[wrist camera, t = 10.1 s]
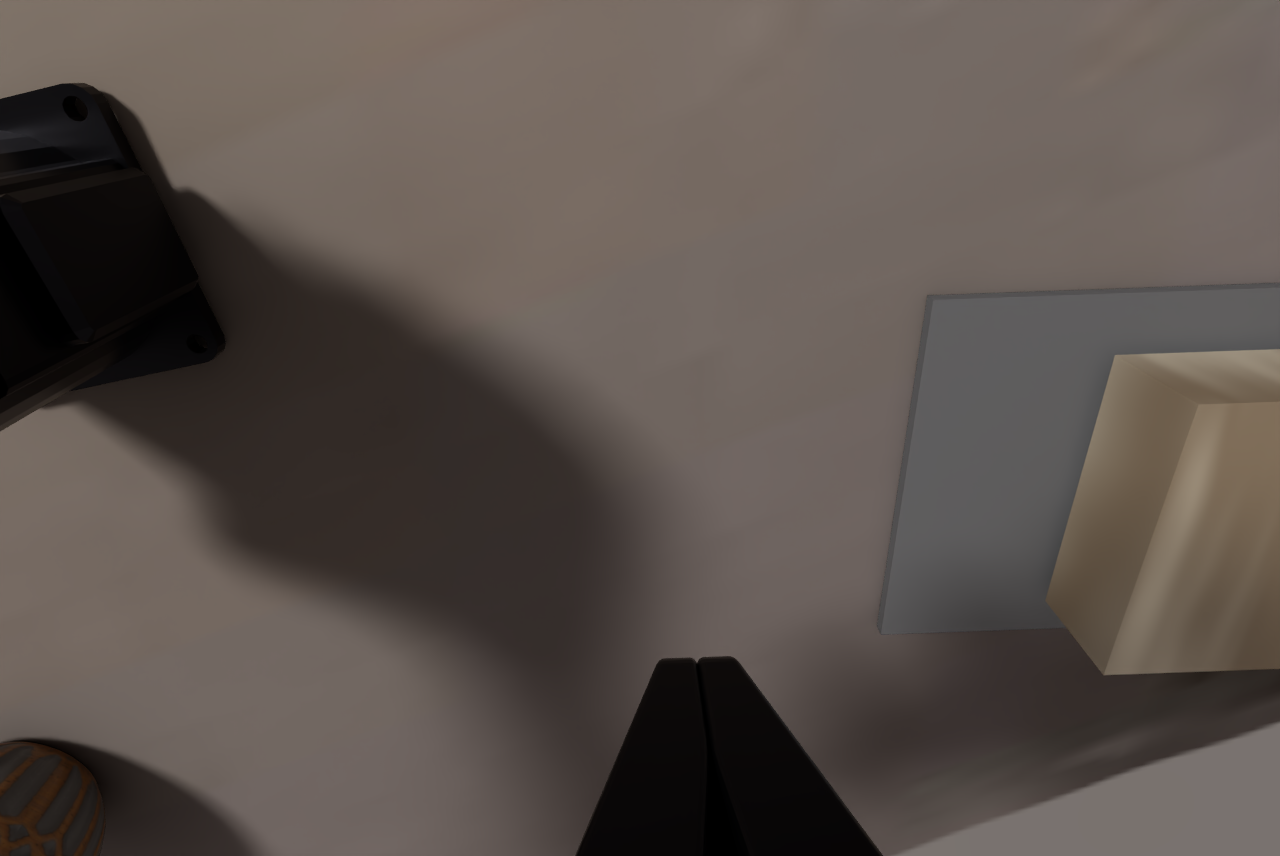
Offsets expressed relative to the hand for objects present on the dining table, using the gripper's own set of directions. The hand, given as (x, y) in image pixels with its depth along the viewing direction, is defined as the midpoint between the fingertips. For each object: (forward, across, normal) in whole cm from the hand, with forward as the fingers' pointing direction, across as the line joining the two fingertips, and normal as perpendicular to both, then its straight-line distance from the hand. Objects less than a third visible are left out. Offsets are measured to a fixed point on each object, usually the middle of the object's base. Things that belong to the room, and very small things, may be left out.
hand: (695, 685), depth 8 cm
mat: (+12, -15, +5) cm, 20 cm away
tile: (+10, -12, +5) cm, 16 cm away
